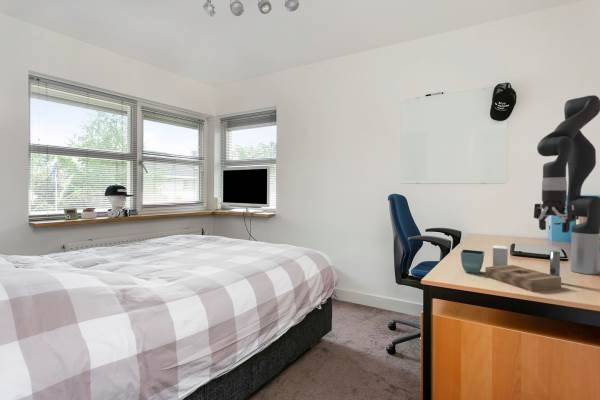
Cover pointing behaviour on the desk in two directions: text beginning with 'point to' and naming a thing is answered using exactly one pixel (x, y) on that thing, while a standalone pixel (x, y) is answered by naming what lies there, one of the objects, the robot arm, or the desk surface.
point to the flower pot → (472, 260)
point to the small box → (500, 255)
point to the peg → (555, 263)
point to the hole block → (523, 277)
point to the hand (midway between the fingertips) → (553, 231)
